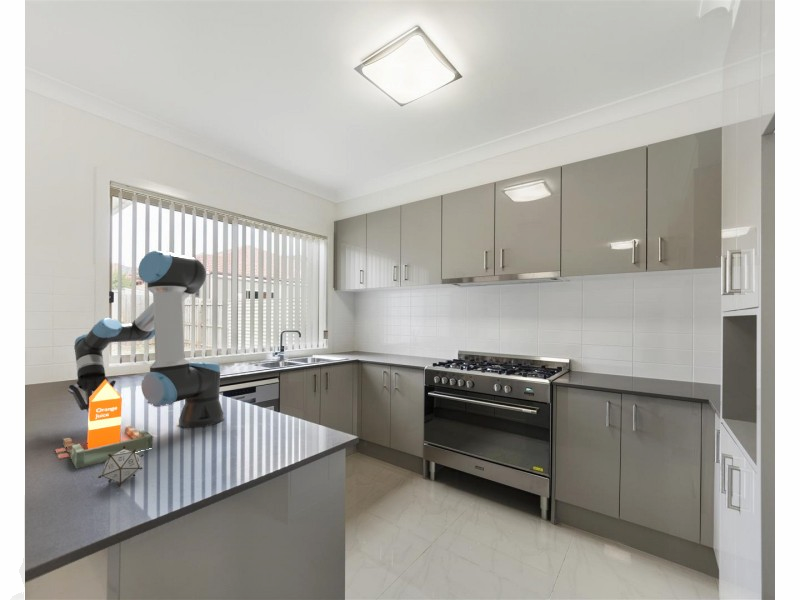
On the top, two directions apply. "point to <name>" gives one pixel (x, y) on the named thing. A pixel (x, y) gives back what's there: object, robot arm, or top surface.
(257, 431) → the top surface
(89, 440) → the orange juice
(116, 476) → the game die
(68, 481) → the top surface
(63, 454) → the trap strips
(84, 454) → the tray
